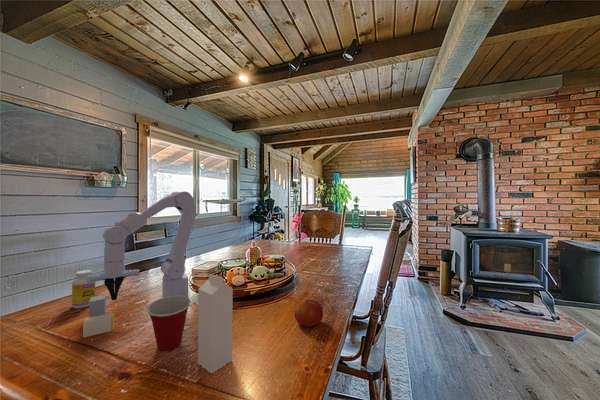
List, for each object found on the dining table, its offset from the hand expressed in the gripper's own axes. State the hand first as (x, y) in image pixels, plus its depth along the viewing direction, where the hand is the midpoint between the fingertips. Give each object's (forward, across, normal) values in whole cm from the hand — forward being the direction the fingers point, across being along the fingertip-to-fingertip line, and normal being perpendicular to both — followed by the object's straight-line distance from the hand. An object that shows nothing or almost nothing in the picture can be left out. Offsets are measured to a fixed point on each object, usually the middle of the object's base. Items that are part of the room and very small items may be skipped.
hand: (114, 299), depth 85 cm
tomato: (+6, +54, -41) cm, 68 cm away
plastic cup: (+6, +14, -30) cm, 34 cm away
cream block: (+4, +1, -10) cm, 11 cm away
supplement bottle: (+6, -10, +16) cm, 20 cm away
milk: (+6, +24, -44) cm, 50 cm away
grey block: (+6, -4, 0) cm, 7 cm away
